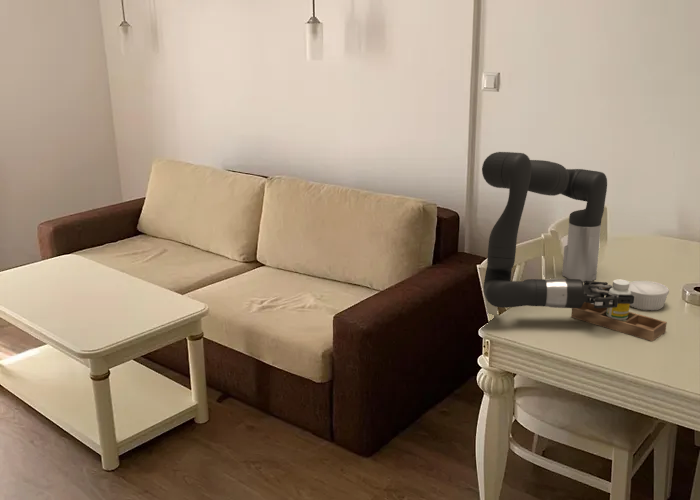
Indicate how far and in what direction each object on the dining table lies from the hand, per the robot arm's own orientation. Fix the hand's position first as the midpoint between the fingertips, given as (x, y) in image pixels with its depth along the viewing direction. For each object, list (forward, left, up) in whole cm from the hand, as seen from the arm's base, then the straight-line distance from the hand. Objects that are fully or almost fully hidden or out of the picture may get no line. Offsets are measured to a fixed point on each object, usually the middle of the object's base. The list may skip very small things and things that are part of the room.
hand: (629, 295), depth 183 cm
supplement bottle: (-2, -2, -6) cm, 7 cm away
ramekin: (-3, +16, -9) cm, 19 cm away
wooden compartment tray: (-2, -2, -8) cm, 9 cm away
